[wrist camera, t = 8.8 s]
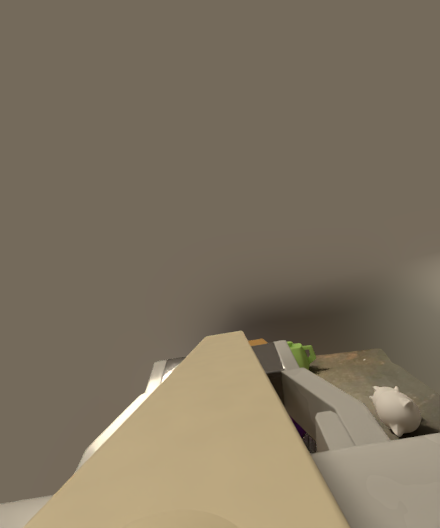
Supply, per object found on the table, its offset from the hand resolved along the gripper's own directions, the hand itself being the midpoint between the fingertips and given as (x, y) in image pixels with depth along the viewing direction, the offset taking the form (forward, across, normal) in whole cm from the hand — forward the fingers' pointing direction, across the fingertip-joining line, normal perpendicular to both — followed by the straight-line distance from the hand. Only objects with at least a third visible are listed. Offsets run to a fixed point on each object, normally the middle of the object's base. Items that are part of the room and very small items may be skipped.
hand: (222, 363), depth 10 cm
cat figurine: (+28, -34, +50) cm, 67 cm away
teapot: (+71, -24, +75) cm, 106 cm away
